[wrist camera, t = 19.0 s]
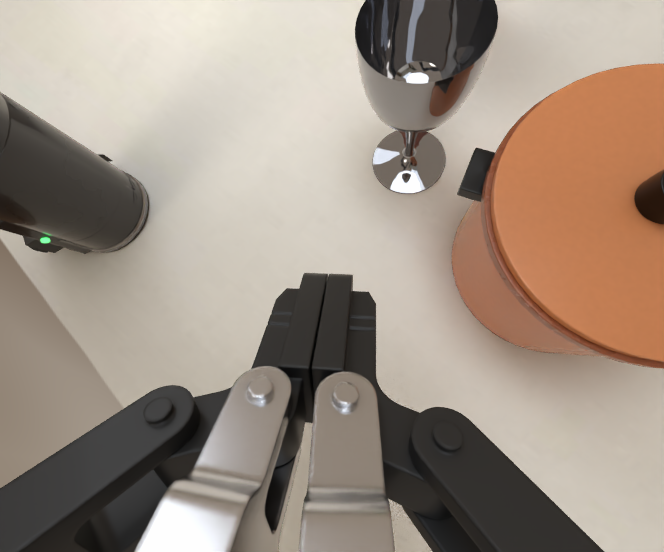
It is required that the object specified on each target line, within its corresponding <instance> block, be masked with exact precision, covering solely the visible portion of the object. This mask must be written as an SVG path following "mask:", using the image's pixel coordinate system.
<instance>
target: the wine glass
mask: <svg viewBox="0 0 664 552" xmlns="http://www.w3.org/2000/svg"><path fill="white" fill-rule="evenodd" d="M497 22H498V13H497V6H496V3H495V1H494V0H366V1H365V2H364V4H363V6H362V7H361V9H360V12H359V14H358V17H357V21H356V27H355V40H356V53H357V60H358V66H359V72H360V76H361V81H362V84H363V87H364V90H365V94H366V96H367V98H368V100H369V103H370V105H371V107H372V109H373V110H374V112H375V113H376V115H377V116H378V117H379V119H380V120H381V121H382V122H384V123H385V124H386V125H388V126H389V127H391V128H393V129H395V130H398V131H395V132H393V133H391V134H389V135H388V136H386V137H385V138H384V139H383V140H382V141H381V142H380V143H379V145H378V146H377V148H376V150H375V153H374V156H373V169H374V173H375V175H376V177H377V179H378V180H379V181H380V183H382V184H383V185H384V186H385V187H386V188H388V189H390V190H392V191H394V192H398V193H404V194H411V193H417V192H421V191H423V190H425V189H427V188H429V187H430V186H432V185H433V184H434V183H435V182H436V181H437V180H438V179H439V178H440V176H441V174H442V172H443V170H444V167H445V152H444V149H443V147H442V145H441V143H440V142H439V141H438V139H437V138H436V137H434V136H433V135H432V134H430V133H428V132H426V131H429V130H432V129H434V128H437V127H439V126H440V125H442V124H444V123H445V122H446V121H448V120H449V119H450V118H451V117H452V116H453V115H454V114H455V113H456V112H457V111H458V110H459V108H460V107H461V106H462V104H463V103H464V102H465V100H466V99H467V97H468V96H469V94H470V92H471V91H472V89H473V87H474V85H475V84H476V82H477V80H478V78H479V76H480V74H481V72H482V69H483V67H484V65H485V62H486V60H487V57H488V54H489V51H490V48H491V45H492V42H493V39H494V36H495V33H496V29H497Z"/></svg>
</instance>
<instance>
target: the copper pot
mask: <svg viewBox="0 0 664 552" xmlns="http://www.w3.org/2000/svg"><path fill="white" fill-rule="evenodd" d="M457 195H459V196H463V197H466V198H469V199H472V200H474V201H473V203H472V205H471V206H470V208H469V209H468V211H467V213H466V214H465V216H464V218H463V219H462V221H461V223H460V225H459V227H458V229H457V232H456V235H455V238H454V242H453V249H452V268H453V275H454V278H455V282H456V286H457V288H458V290H459V293H460V295H461V297H462V299H463V300H464V302H465V304H466V306H467V307H468V308H469V310H470V311H471V312H472V313H473V315H474V316H475V317H476V318H477V319H478V320H479V321H480V322H481V323H482V324H483V325H484V326H485V327H487V328H488V329H489V330H490V331H492V332H493V333H494V334H496V335H498V336H499V337H501V338H503V339H504V340H506V341H508V342H510V343H513V344H515V345H517V346H520V347H523V348H526V349H529V350H534V351H539V352H546V353H559V354H574V355H590V356H603V357H606V358H610V359H613V360H616V361H619V362H623V363H628V364H633V365H638V366H643V367H653V368H664V64H642V65H632V66H626V67H619V68H614V69H610V70H607V71H603V72H599V73H596V74H593V75H590V76H588V77H585V78H582V79H580V80H577V81H575V82H573V83H571V84H570V85H568V86H566V87H564V88H562V89H560V90H558V91H557V92H555V93H553V94H551V95H549V96H548V97H546V98H545V99H543V100H542V101H540V102H539V103H537V104H536V105H534V106H533V107H532V108H531V109H530V110H529V111H528V112H527V113H525V114H524V115H523V116H522V117H521V118H520V119H519V120H518V121H517V122H516V124H515V125H514V126H513V127H512V128H511V129H510V130H509V132H508V133H507V135H506V136H505V138H504V139H503V141H502V142H501V144H500V145H499V147H498V149H497V151H496V153H494V152H490V151H487V150H483V149H479V148H476V149H475V150H474V153H473V155H472V157H471V160H470V162H469V165H468V167H467V170H466V173H465V175H464V178H463V180H462V183H461V185H460V188H459V190H458V193H457Z"/></svg>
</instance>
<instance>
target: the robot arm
mask: <svg viewBox="0 0 664 552" xmlns="http://www.w3.org/2000/svg"><path fill="white" fill-rule="evenodd" d="M108 161H112V160H111V159H109V158H108V157H106V156H105V155H97V154H95V153H94V152H92V151H91V150H89V149H88V148H86V147H85V146H83V145H82V144H80V143H78V142H77V141H75V140H74V139H72V138H71V137H69V136H68V135H66V134H65V133H63V132H61V131H60V130H58V129H57V128H55V127H54V126H52V125H51V124H49V123H48V122H46V121H44V120H43V119H41V118H40V117H38V116H37V115H35V114H34V113H32V112H31V111H29V110H27V109H26V108H24V107H23V106H21V105H20V104H18V103H17V102H15V101H14V100H12V99H10V98H9V97H7V96H6V95H4V94H3V93H1V92H0V229H2V230H5V231H9V232H12V233H16V234H19V235H23V237H24V241H25V245H27V246H29V247H30V248H32V249H33V250H36V251H40V252H45V253H47V252H48V251H49V252H53V253H55V252H57V251H59V250H61V249H62V248H67V249H70V250H74V251H77V252H81V253H84V254H86V253H88V252H90V251H92V250H93V251H96V252H111V251H114V250H117V249H120V248H122V247H123V246H125V245H127V244H128V243H129V242H130V241H132V240H133V239H134V238H135V237H136V235H137V234H138V233H139V231H140V230H141V228H142V226H143V224H144V222H145V220H146V216H147V212H148V198H147V194H146V191H145V189H144V187H143V186H142V184H141V183H140V182H139V181H138V180H137V179H135V178H134V177H132V176H131V175H129V174H127V173H125V172H124V171H121V170H120V169H118V168H117V167H115V166H114V165H112V164H111V163H109V162H108ZM305 422H308V423H313V427H312V439H311V452H310V465H309V478H308V489H307V494H306V497H305V499H304V504H303V511H302V519H301V530H300V542H299V552H395V549H394V539H393V528H392V519H391V511H390V505H389V501H388V499H390V500H392V501H394V502H396V503H398V504H400V505H402V507H403V509H404V510H405V512H406V514H407V515H408V516H409V518H410V519H411V521H412V522H413V524H414V525H415V527H416V528H417V529H418V531H419V532H420V534H421V535H422V537H423V538H424V539H425V541H426V542H427V544H428V545H429V547H430V548H431V550H432V551H433V552H604V551H603V550H602V549H601V548H600V547H599V546H598V545H597V544H596V543H595V542H594V541H593V540H592V539H591V538H590V537H589V536H588V535H587V534H586V533H585V532H584V531H583V530H582V529H580V528H579V527H578V526H577V525H576V524H575V523H574V522H573V521H572V520H571V519H570V518H569V517H568V516H567V515H566V514H565V513H564V512H563V511H562V510H561V509H560V508H559V507H558V506H557V505H556V504H555V503H554V502H553V501H552V500H551V499H550V498H549V497H548V496H547V495H546V494H545V493H544V492H543V491H542V490H541V489H540V488H539V487H538V486H536V485H535V484H534V483H533V482H532V481H531V480H530V479H529V478H528V477H527V476H526V475H525V474H524V473H523V472H522V471H521V470H520V469H519V468H518V467H517V466H516V465H515V464H514V463H513V462H512V461H511V460H510V459H509V458H508V457H507V456H506V455H505V454H504V453H503V452H502V451H501V450H500V449H499V448H498V447H497V446H496V445H495V444H494V443H493V442H491V441H490V440H489V439H488V438H487V437H486V436H485V435H484V434H483V433H482V432H481V431H480V430H479V429H478V428H477V427H476V426H475V425H474V424H473V423H472V422H471V421H470V420H469V419H468V418H466V417H465V416H464V415H462V414H461V413H459V412H457V411H455V410H452V409H449V408H444V407H434V408H429V409H426V410H424V411H423V412H421V413H419V412H416V411H414V410H411V409H409V408H406V407H403V406H401V405H399V404H397V403H395V402H394V401H392V400H391V399H389V398H388V397H387V396H386V395H385V394H384V393H383V392H382V390H381V389H380V387H379V385H378V383H377V379H376V303H375V302H374V300H373V298H372V297H371V295H370V293H369V292H357V291H353V275H345V274H329V277H328V274H318V273H304V275H303V278H302V282H301V285H300V289H289V288H287V289H286V290H285V291H284V292H283V293H282V294H281V295H280V296H279V297H278V298H277V299H276V302H275V304H274V307H273V310H272V315H271V316H270V318H269V321H268V325H267V327H266V330H265V332H264V335H263V338H262V341H261V344H260V346H259V349H258V352H257V355H256V358H255V360H254V363H253V366H252V368H251V370H249V371H247V372H245V373H244V374H242V375H241V376H240V377H239V378H238V379H237V380H236V382H235V383H234V385H233V387H231V388H229V389H226V390H224V391H220V392H216V393H211V394H207V395H202V396H198V397H193V396H192V395H191V393H190V392H189V391H188V390H187V389H185V388H184V387H181V386H175V385H171V386H164V387H161V388H158V389H155V390H153V391H151V392H149V393H148V394H146V395H145V396H143V397H141V398H140V399H138V400H137V401H135V402H134V403H132V404H131V405H129V406H127V407H126V408H124V409H123V410H121V411H120V412H118V413H117V414H115V415H114V416H112V417H110V418H109V419H107V420H106V421H104V422H103V423H101V424H100V425H98V426H96V427H95V428H93V429H92V430H90V431H89V432H87V433H86V434H84V435H82V436H81V437H79V438H78V439H76V440H75V441H73V442H72V443H70V444H69V445H67V446H66V447H64V448H62V449H61V450H59V451H58V452H56V453H55V454H53V455H51V456H50V457H48V458H47V459H45V460H44V461H42V462H41V463H39V464H37V465H36V466H34V467H33V468H32V469H30V470H28V471H27V472H25V473H24V474H22V475H20V476H19V477H17V478H16V479H14V480H13V481H11V482H10V483H8V484H7V485H5V486H4V487H2V488H0V552H279V542H280V535H281V530H282V526H283V522H284V518H285V514H286V510H287V506H288V502H289V498H290V494H291V490H292V486H293V482H294V478H295V474H296V470H297V466H298V462H299V458H300V453H301V442H302V436H303V431H304V425H305Z"/></svg>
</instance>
